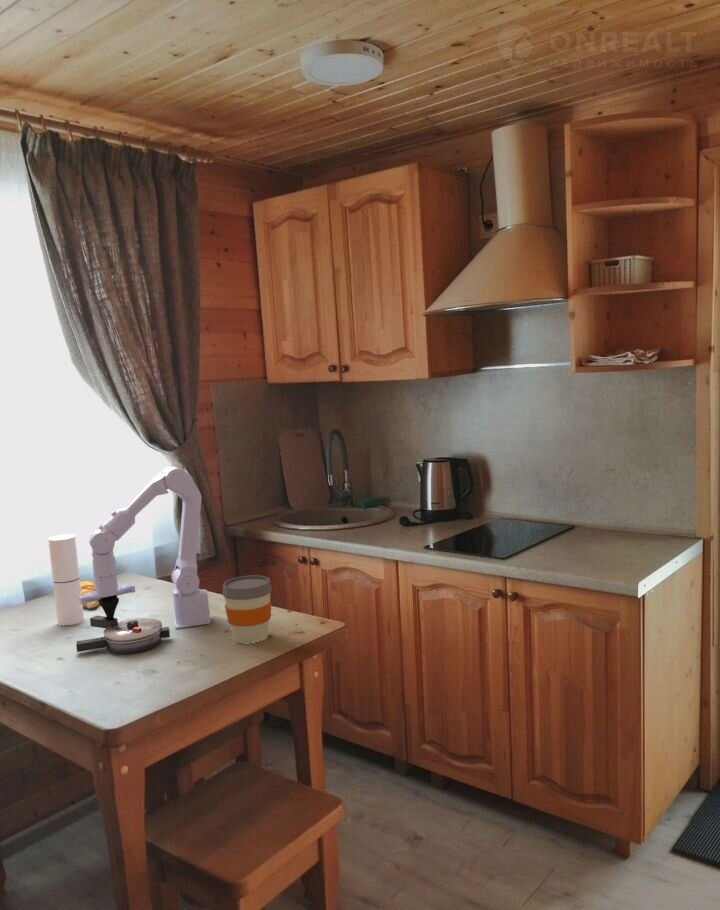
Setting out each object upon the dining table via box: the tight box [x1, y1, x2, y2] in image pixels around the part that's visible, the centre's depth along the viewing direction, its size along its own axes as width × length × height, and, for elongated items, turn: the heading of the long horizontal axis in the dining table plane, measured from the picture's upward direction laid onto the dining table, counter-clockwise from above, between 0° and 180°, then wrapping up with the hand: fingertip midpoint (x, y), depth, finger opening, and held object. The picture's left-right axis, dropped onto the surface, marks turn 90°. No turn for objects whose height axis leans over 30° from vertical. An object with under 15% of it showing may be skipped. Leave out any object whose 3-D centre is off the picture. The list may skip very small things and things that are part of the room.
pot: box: [75, 626, 171, 656], centre depth 197 cm, size 23×14×4 cm, turn 108°
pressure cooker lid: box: [89, 615, 163, 642], centre depth 198 cm, size 21×15×2 cm
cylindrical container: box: [48, 533, 85, 627], centre depth 218 cm, size 7×7×25 cm
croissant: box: [80, 580, 100, 609], centre depth 238 cm, size 21×10×8 cm, turn 34°
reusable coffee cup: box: [222, 574, 273, 644], centre depth 197 cm, size 13×12×15 cm
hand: (110, 623), depth 204 cm, fingers closed
